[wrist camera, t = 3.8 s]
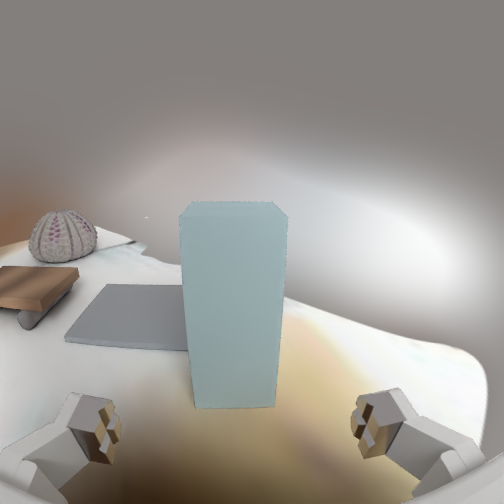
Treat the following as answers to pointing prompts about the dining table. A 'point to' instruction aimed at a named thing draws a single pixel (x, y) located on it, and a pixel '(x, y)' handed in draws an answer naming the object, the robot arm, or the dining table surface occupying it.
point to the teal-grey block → (233, 300)
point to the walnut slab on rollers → (34, 290)
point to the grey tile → (133, 318)
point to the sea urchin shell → (62, 237)
